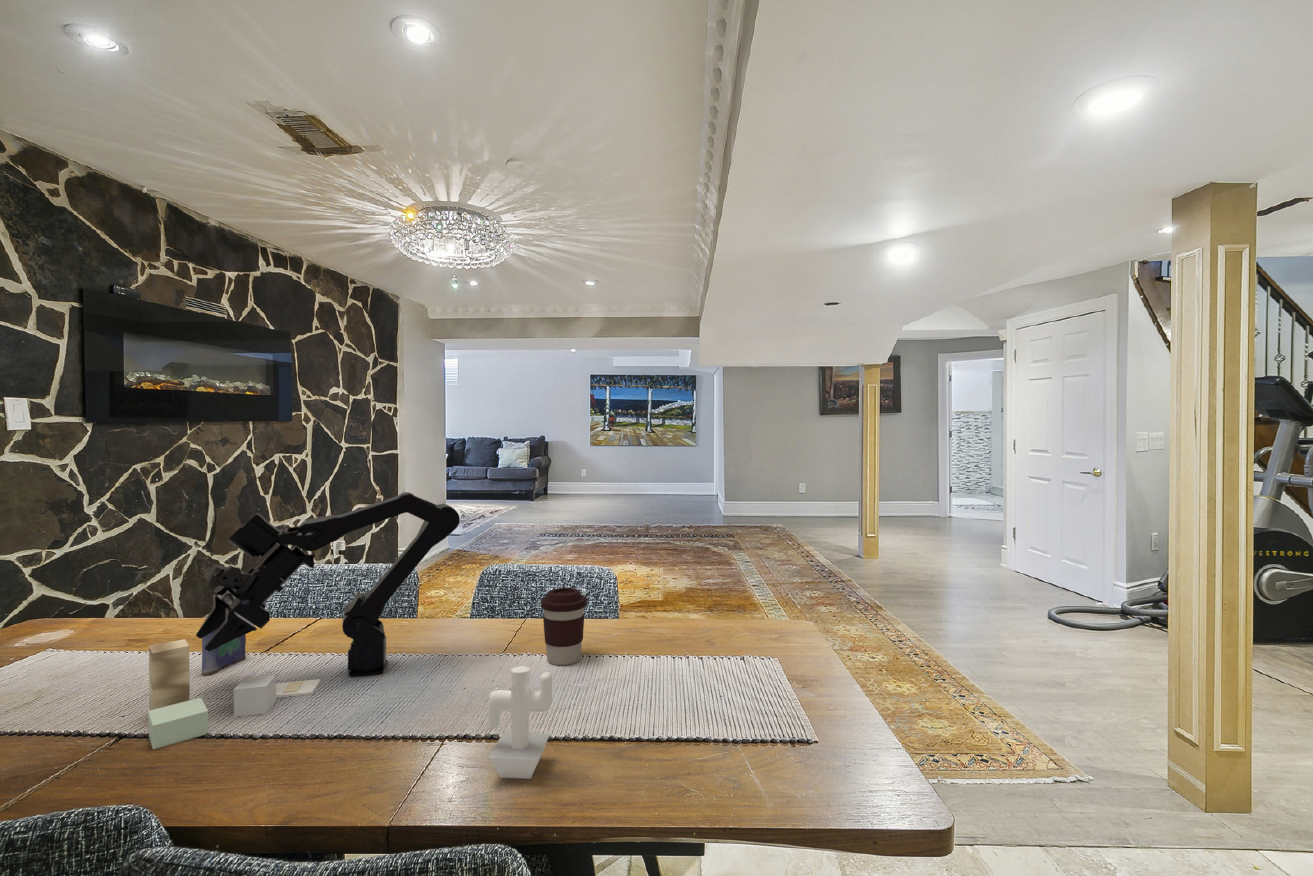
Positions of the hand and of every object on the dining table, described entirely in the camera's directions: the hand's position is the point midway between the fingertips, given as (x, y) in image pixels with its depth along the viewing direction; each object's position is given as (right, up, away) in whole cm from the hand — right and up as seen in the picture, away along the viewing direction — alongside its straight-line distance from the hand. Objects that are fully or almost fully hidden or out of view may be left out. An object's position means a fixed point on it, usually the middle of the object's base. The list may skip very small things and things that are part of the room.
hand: (202, 643), depth 109 cm
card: (+13, -11, +6) cm, 18 cm away
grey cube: (+11, -11, -2) cm, 16 cm away
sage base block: (+4, -12, -10) cm, 16 cm away
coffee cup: (+62, -11, +22) cm, 67 cm away
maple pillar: (-3, -11, -3) cm, 12 cm away
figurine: (+63, -12, -21) cm, 67 cm away
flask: (-9, -11, +18) cm, 23 cm away
